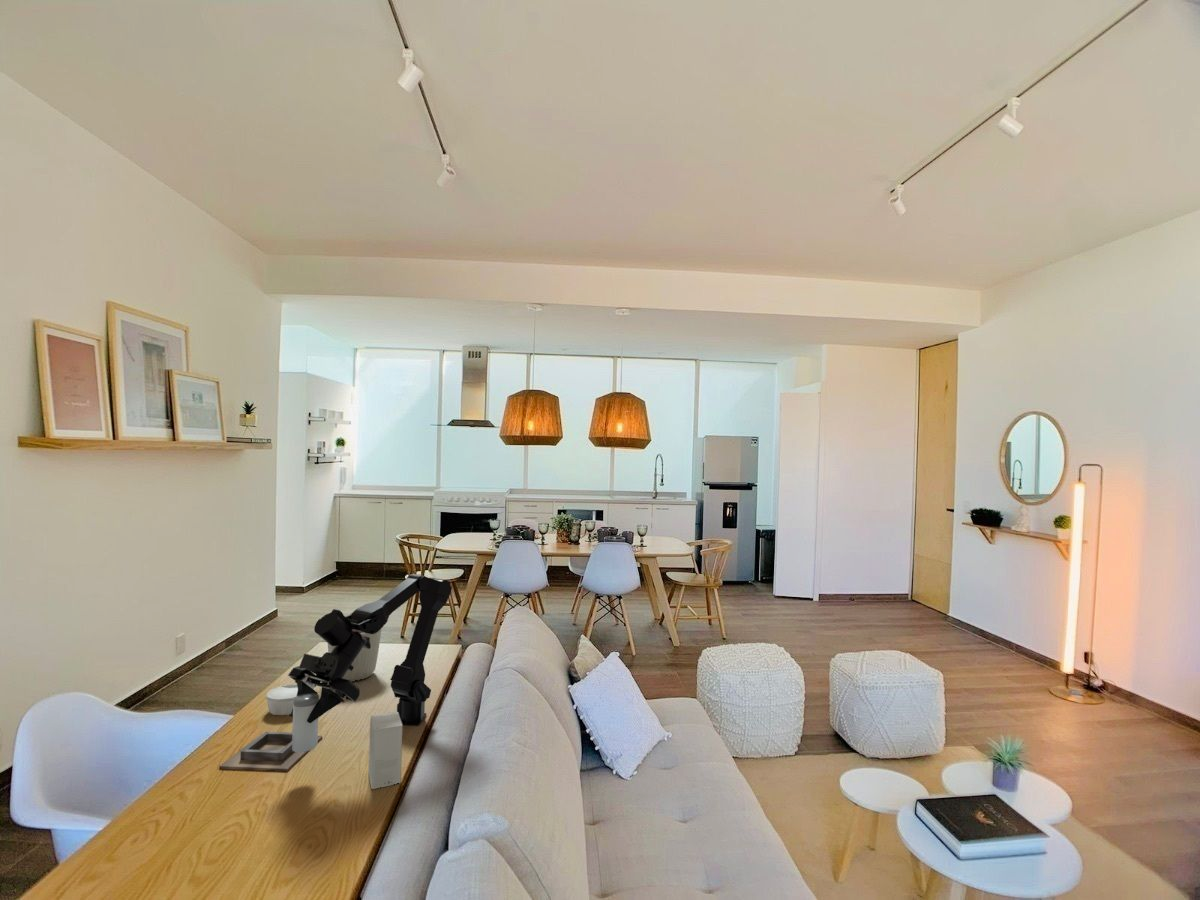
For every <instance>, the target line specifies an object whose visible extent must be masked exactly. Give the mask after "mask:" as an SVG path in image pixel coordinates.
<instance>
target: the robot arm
mask: <svg viewBox="0 0 1200 900" xmlns="http://www.w3.org/2000/svg"><path fill="white" fill-rule="evenodd" d="M417 593H419V594H418V598H419V603H420V611H419V613H418V618H417V620H416V624H415V627H414V630H413V634H412V637H411V640H410V642H409V643H410V644H409V647H408V650H407V652H406V656H405V658H404V660H403V661H402V662H401V663H400V664H396V665H395V666H394V668H393V673H392V675H391V677H390V679H389V680H390V688H391V690H392V692H393V695H394V697H395V699H396V698H397V699H398V703H397V704H396V712H398V713H399V716H400V719H401V722H402V725H403V726H404V725H405V726H407V725H408V726H419V725H421V723H422V721H424V719H425V718H426V716H427V713H426V712H425V707H426V706H425V705H426V704H425V703H426V702H427V700H428V699H430V696H431V692H432V689H431V688H430V687H429V686H428V685H427V684H426V683H425V680H426V671H425V670H426V669H425V666H424V663H425V657H426V654H427V651H428V648H429V644H430V641H431V638H432V635H433V632H434V627H435V624H436V622H437V618H438V614H439V612H440V610H441V609H443V607H444V606H445V605H446V604H447V603H448V601H449V598H450V597H451V594H452V585H451V583H450V581H449V580H447V579H441V578H436V577H427V576H426V575H424V574H416V573H412V574H409V575H408V576H407V577H406V579H405V580H403V581H401V582H400V583H399V584H398V585H396V586H395V587H394V588H393V589H391V590H390V591H389V592H387V593H386V594H385V595H383V596H382V597H380V598H379V599H377V600H376V601H373V602H369V603H366V604H364V605H362V606H359V607H358V608H356V609H354V610H353V611H352V612H351V613H352V614H351V613H350V614H348V615H346V616H345V615H344V613H343V612H342V611H341V610H340V609H336V608H333V609H332V610H331V612H330V613H326V614H325V615H323V616H322V617H321V618H319V619H318V620H317V621H316V623H315V625H314V628H313V630H314V631H313V632H314V633H315V634H316V635H318V636H319V637H320V638H321V639H322V640H323V641H324V642H325V643H327V645H328V644H329V645H331V646H335V647H334V649H333V650H332V652H331V653H328V651H326V652H325V653H323V654H322V656H318V655H313V654H309V653H304V654H303V656H302V658H301V661H300V664H299V665H298V666H295V667H293V668H292V669H291V671H290V672H289V673H288V675H287V676H288V677H289V678H290V679H292V680H293V681H294V683H295V684H297V687H298V692H297V696H299V695H301V694H306V693H316V694H318V695H319V692H318V691H316V690H315V688H316V687H317V686H318V687H320V688H321V689H320V696H319V700H318V702H317V704H316V705H315V707H314V709H313V710H312V712H311V713H310V715H309V717H308V719H307V722H308V723H312V722H313V721H314V720H316V719H317V718H318V719H319V718H320V717H321V716H323V715H325V713H327V712H329V711H330V710H332V709H333V708H335V707H336V706H338V705H340V704H341V703H342V704H344V703H345V702H346V700H347V701H348V702H353V703H356V702H357V700H358V698H359V697H360V696H361V695H360V694H361V690H360V688H359V687H358V686H357V685H356V684H354V683H353V681H350V680H347V679H343V677H344V675H345V674H346V672H347V671H348V670H349V671H352V670H353V668H354V667H353V666H352V663H353V662H354V660H355V659H356V657H357V655H358V654H359V652H360V651H361V649H362V648H367V649H370V648H371V644H370V638H369V637H365V636H362V635H361V634H360V633H358V632H353V631H352V630H355V631H359V632H364V633H368V634H375V633H377V632H378V631H379V630H380V629H381V628H382V627H383V628H384V626H385V625H386V624H387V622H388V621H389V618H390V616H391V615H392V613H394V612H395V611H397V609H399V608H400V607H401V606H403V605H404V604H406V603H407V601H409V600H410V599H411V598H412V597H414V596H415V595H416V594H417ZM383 628H382V629H383ZM382 629H381V630H382ZM344 698H345V699H346V700H344ZM290 717H292V718H293V709H292V712H291V715H290Z"/></svg>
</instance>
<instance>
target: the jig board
mask: <svg viewBox="0 0 1200 900" xmlns="http://www.w3.org/2000/svg"><path fill="white" fill-rule="evenodd" d="M321 740H323V735H318V743H319V742H320V741H321ZM308 753H309V751H306V752H295V751H293V750H292V732H285V731H283V732H282V731H265V732H264V733H260V734H259V735H258V736H256V737H254V739H252V740H250V741H249V742H248V743H247V744H246V745H245V746H244V747H242V748H241V749H239V750H238V751H237V752H235V753H234V754H233V755H232V756H230V757H229V758H228V759H227V760H225V761H224V762H223V763H222V764H220V765H219V766H218V767H219V768H218V769H219V770H238V771H239V770H243V771H263V770H264V771H265V772H266V770H275V771H274V772H288V771H290V770H291V768H293V767H294V766H295V765H296V764H297V763H298V762H299V761H300V760H301V759H303V757H304V756H305V755H307V754H308Z"/></svg>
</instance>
